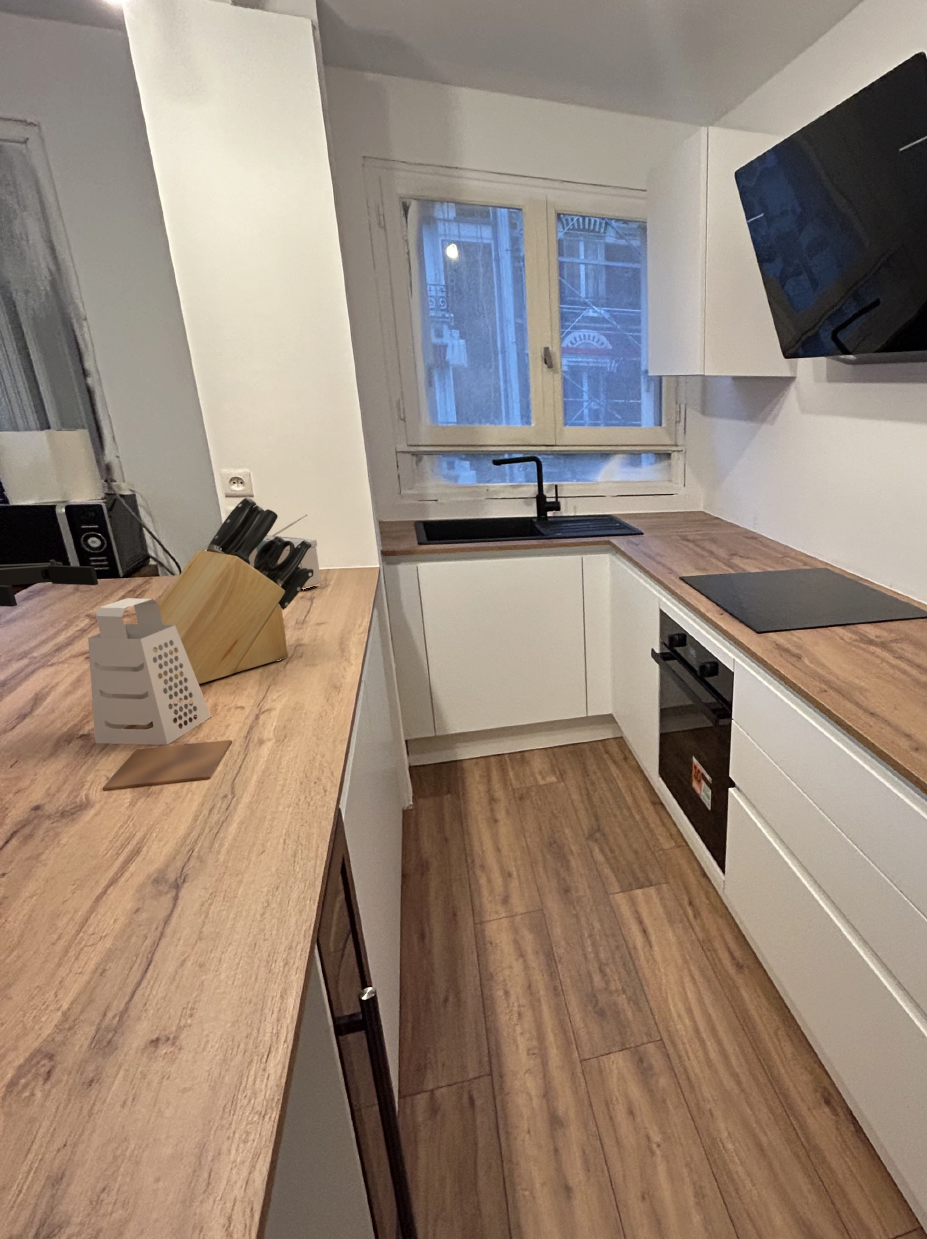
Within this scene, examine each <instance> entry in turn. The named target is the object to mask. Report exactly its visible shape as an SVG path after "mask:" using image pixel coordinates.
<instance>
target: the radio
mask: <svg viewBox="0 0 927 1239" xmlns="http://www.w3.org/2000/svg"><path fill="white" fill-rule="evenodd" d="M305 517H308V514H307V513H306V514H305V515H303V516H301V517H300V518H299V519H297V520H295V521H293V522H291V523H289V524H288V525H287V526H285V527H282V529H279V531H277V532H275V533H274V534H271V535H269V534H267V535H266V537H265V538H264V539H263V541H262V542H261V543H260V544H259V545H258V546H257V547H256V548H255V549H254V550H253V552H252V553H251V554H250V556H249V561H250V566H252V567H254V559H255V556H256V554H257V553H258V551H259V550H260V548H261V547H262V546H263V545H264V544H265V543H267V542H268V541H270V540H273V539H274V538H275V537H276V536H279V537H281V538H282V539H283V540H284V541H291V542H292V543H293V544H294V545H295V548H296V547H297V545H299V544H300V543H301V542H302V541H303V540H306V541H308V542H309V543H310V544H311V545H312V547H311V548H309V549H308V551H307V552H306V554H305V556H304V558H303V559H302V561H301V563H300V564H299V566H298V567H300V569H301V568H307V569H313V570H314V573H313V576H312V577H311V578H309V579H308V581H307V582H306V583H305V585H304V586H303V588H306V587H309V586H313V585H316V584H319V583H320V584H322V579H321V578H322V577H321V572H320V565H319V558H318V550H317V547H318V542H317V539H311V538H301V537H291V536H282V535H279V534H281V533H282V532H283V531H286V530H287V529H289V528H290V527H292V526H293V525H294V524H296V523H297V522H300V521H301V520H302V519H304V518H305ZM289 552H290V546H287V547H286V548H285V549H284V551H283V553H282V555H281V556H280V558H279V560H278V562H277V564H280V563H281V562H282V561H283V560H284V559H285V558H286V557H287V556H288V554H289ZM277 564H276V565H277ZM262 573H266V572H262ZM267 573H268V572H267ZM267 573H266V575H267ZM266 575H265V576H266Z"/></svg>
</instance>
